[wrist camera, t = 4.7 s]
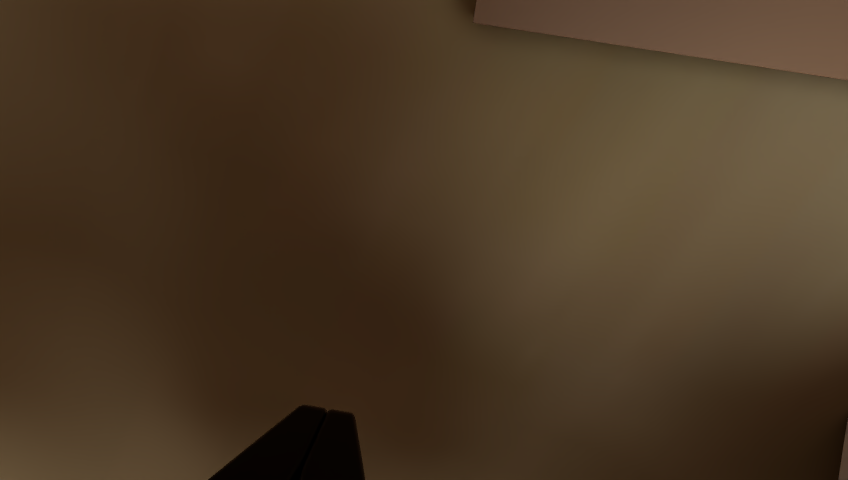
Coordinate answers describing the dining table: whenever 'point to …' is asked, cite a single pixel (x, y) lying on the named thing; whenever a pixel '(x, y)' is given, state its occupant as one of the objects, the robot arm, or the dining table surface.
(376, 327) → the dining table surface
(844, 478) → the die
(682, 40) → the lane
